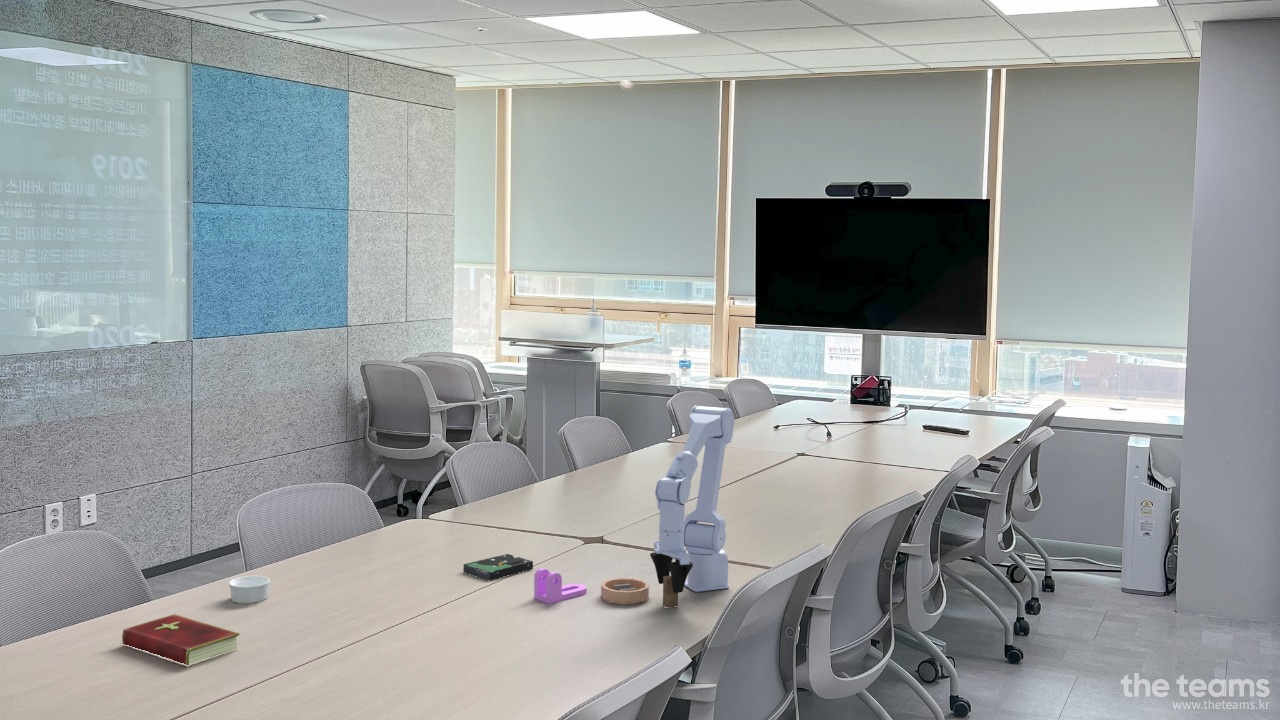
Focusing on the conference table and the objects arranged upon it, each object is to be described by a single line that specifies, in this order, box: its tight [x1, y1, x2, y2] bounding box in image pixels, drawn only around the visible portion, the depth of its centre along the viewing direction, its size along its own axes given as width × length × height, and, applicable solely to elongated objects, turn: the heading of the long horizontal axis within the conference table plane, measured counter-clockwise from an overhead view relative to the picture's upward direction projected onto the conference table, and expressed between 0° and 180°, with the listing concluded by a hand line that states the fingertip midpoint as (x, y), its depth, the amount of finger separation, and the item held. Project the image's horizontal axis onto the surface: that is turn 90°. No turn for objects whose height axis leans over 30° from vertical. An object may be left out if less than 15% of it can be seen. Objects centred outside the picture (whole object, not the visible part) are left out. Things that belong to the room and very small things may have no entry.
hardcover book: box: [121, 613, 240, 665], centre depth 226 cm, size 12×21×4 cm, turn 57°
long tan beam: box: [662, 574, 679, 608], centre depth 257 cm, size 3×2×7 cm, turn 114°
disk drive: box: [463, 553, 534, 581], centre depth 284 cm, size 10×3×15 cm
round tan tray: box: [600, 577, 650, 606], centre depth 264 cm, size 11×11×3 cm
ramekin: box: [228, 575, 271, 604], centre depth 258 cm, size 9×9×4 cm
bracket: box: [533, 567, 588, 604], centre depth 265 cm, size 13×6×7 cm, turn 134°
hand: (670, 587), depth 257 cm, fingers open, 7 cm apart
